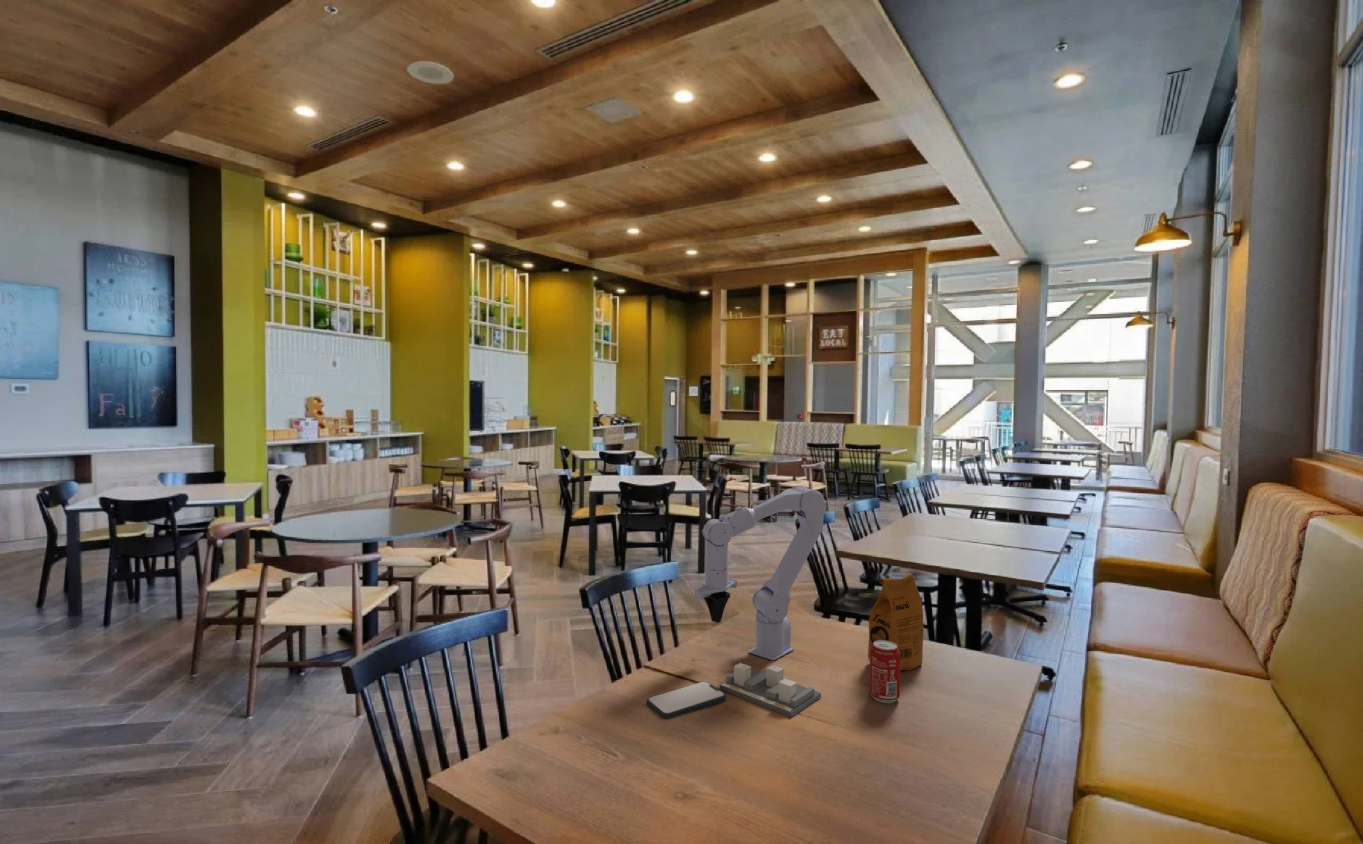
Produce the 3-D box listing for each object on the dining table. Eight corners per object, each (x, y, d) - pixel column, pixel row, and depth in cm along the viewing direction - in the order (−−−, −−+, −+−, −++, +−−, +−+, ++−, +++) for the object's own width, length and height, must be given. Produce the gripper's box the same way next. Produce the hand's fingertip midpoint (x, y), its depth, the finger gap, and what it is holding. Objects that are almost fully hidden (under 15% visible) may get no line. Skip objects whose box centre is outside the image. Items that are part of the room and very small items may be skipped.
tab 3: (784, 696, 140) (784, 678, 140) (796, 700, 138) (796, 682, 138) (778, 699, 139) (778, 682, 139) (790, 704, 137) (790, 686, 137)
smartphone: (665, 723, 132) (728, 702, 141) (664, 715, 132) (728, 695, 141) (644, 705, 140) (705, 686, 148) (644, 698, 140) (705, 679, 148)
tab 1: (740, 679, 149) (740, 663, 148) (750, 683, 146) (751, 666, 146) (733, 683, 147) (734, 666, 147) (744, 687, 145) (744, 670, 145)
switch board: (750, 672, 155) (750, 662, 155) (821, 697, 142) (821, 686, 142) (719, 689, 146) (719, 678, 146) (791, 717, 133) (791, 705, 133)
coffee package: (861, 661, 162) (862, 574, 161) (897, 652, 167) (899, 568, 166) (891, 677, 153) (892, 585, 152) (928, 667, 159) (930, 578, 158)
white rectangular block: (772, 681, 148) (772, 664, 147) (783, 685, 146) (783, 668, 145) (766, 685, 146) (766, 668, 146) (777, 689, 144) (777, 672, 144)
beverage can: (895, 692, 145) (896, 639, 144) (902, 706, 138) (903, 650, 138) (867, 691, 145) (867, 638, 145) (872, 704, 139) (873, 649, 139)
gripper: (722, 559, 171) (721, 610, 171) (685, 570, 160) (685, 625, 160) (743, 564, 166) (743, 616, 166) (707, 576, 155) (707, 632, 156)
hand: (716, 621), depth 163 cm, fingers closed
